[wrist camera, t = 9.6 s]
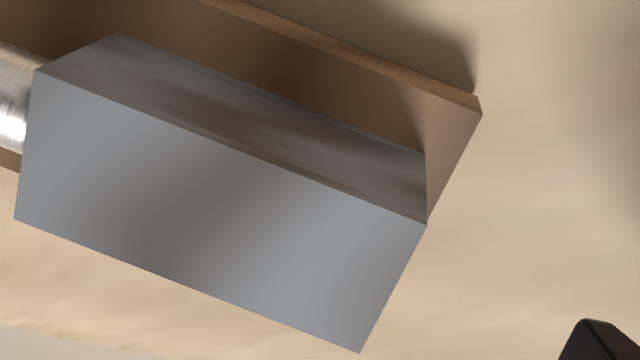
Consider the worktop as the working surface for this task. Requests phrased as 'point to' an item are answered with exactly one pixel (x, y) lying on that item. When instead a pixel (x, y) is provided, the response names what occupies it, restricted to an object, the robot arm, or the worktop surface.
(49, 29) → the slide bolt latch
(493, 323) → the worktop surface
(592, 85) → the worktop surface
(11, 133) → the slip tube
